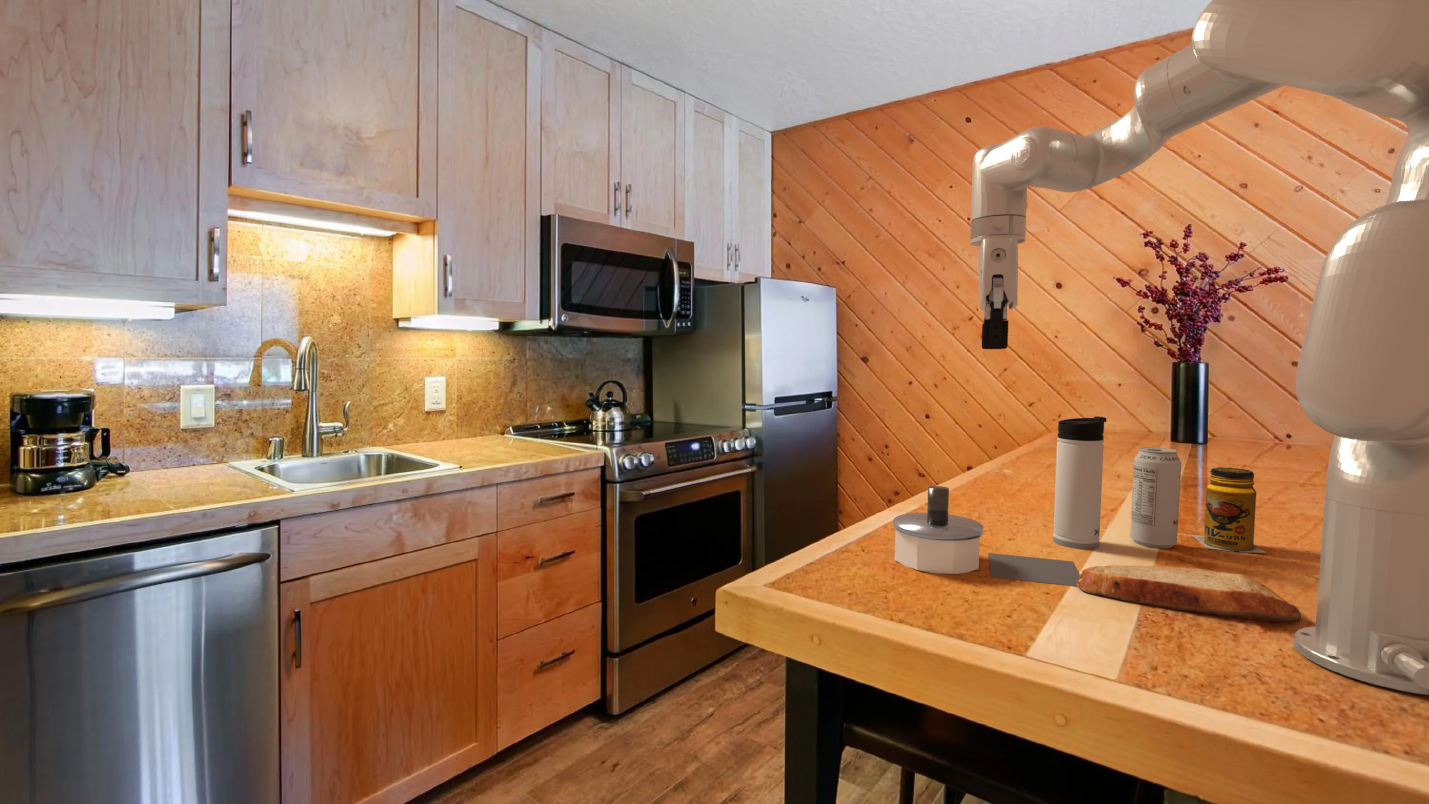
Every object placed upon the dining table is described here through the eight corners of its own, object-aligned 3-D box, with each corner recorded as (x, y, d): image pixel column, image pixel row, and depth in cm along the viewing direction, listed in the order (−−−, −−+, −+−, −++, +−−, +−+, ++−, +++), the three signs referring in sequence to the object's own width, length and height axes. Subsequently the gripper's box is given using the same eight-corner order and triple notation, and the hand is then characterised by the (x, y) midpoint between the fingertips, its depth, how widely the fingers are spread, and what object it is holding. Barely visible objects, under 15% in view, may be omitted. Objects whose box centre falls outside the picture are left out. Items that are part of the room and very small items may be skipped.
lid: (984, 544, 85) (985, 500, 85) (888, 535, 90) (889, 493, 89) (982, 522, 97) (983, 483, 96) (897, 515, 101) (898, 477, 100)
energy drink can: (1185, 552, 99) (1190, 453, 98) (1141, 550, 100) (1146, 452, 98) (1164, 541, 105) (1169, 447, 103) (1123, 539, 106) (1127, 446, 104)
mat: (1085, 590, 83) (1085, 587, 83) (990, 579, 87) (991, 576, 87) (1072, 564, 93) (1072, 561, 93) (988, 555, 97) (988, 552, 97)
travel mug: (1109, 551, 99) (1116, 418, 98) (1065, 551, 99) (1071, 418, 98) (1087, 539, 105) (1092, 414, 104) (1045, 539, 105) (1050, 414, 104)
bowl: (978, 580, 86) (980, 543, 86) (892, 570, 90) (892, 534, 90) (977, 556, 97) (978, 522, 96) (899, 548, 101) (900, 516, 100)
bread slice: (1062, 583, 84) (1064, 554, 84) (1160, 569, 90) (1162, 542, 90) (1211, 643, 67) (1213, 607, 67) (1318, 620, 74) (1321, 588, 73)
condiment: (1208, 550, 100) (1213, 471, 99) (1190, 535, 108) (1194, 462, 107) (1267, 555, 98) (1272, 475, 97) (1244, 539, 106) (1249, 465, 105)
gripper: (1031, 220, 88) (1026, 348, 90) (1020, 240, 104) (1017, 349, 106) (970, 224, 91) (967, 348, 92) (970, 243, 107) (966, 349, 108)
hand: (993, 348), depth 99 cm, fingers open, 9 cm apart
